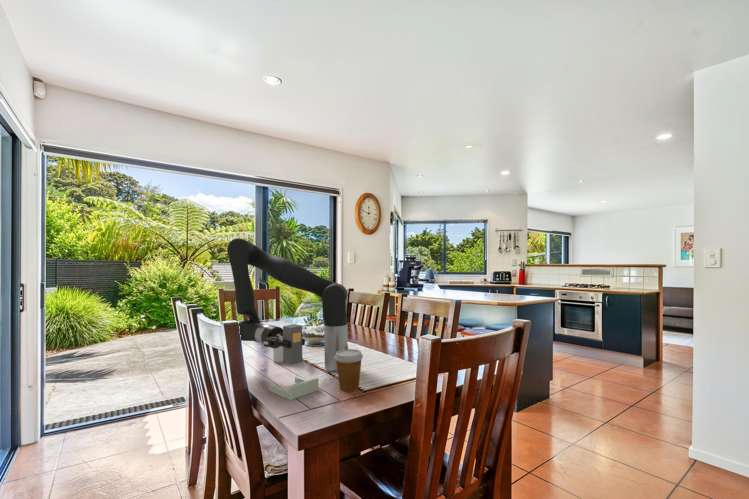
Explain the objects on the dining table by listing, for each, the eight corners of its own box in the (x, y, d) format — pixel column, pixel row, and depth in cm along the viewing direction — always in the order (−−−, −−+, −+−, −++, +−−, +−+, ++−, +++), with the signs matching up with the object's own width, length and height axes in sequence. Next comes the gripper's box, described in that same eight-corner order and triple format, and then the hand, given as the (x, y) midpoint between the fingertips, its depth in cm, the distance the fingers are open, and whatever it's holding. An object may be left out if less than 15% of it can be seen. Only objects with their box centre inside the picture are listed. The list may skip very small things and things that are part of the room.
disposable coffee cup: (357, 394, 119) (357, 357, 119) (330, 392, 122) (329, 355, 122) (367, 384, 128) (366, 349, 128) (341, 382, 131) (340, 348, 131)
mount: (269, 390, 124) (269, 378, 124) (297, 381, 132) (297, 370, 132) (290, 400, 116) (290, 387, 116) (318, 389, 124) (318, 377, 124)
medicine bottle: (280, 357, 164) (279, 330, 164) (295, 357, 163) (295, 330, 163) (273, 362, 156) (272, 333, 157) (289, 362, 156) (289, 334, 156)
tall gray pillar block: (283, 361, 124) (283, 326, 124) (294, 359, 127) (294, 324, 127) (291, 364, 121) (290, 327, 121) (302, 361, 124) (302, 325, 124)
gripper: (251, 328, 129) (278, 336, 117) (286, 322, 139) (314, 328, 127) (251, 350, 129) (278, 359, 117) (287, 342, 139) (315, 350, 127)
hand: (297, 343), depth 122 cm, fingers closed on tall gray pillar block, 4 cm apart
